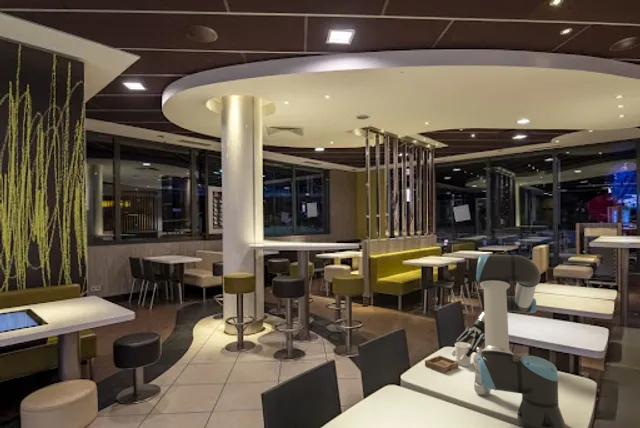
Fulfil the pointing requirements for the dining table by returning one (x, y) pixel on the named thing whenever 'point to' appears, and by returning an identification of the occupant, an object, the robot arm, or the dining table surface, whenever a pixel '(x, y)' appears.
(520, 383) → the robot arm
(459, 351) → the white cup
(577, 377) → the dining table surface
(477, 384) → the plastic bottle
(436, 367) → the brown wooden tray
